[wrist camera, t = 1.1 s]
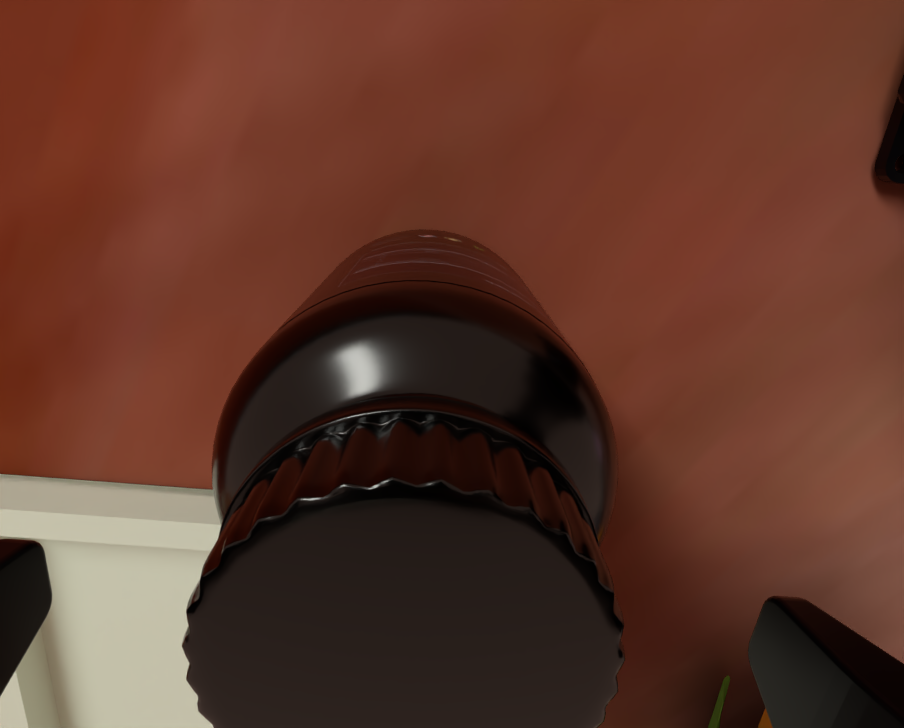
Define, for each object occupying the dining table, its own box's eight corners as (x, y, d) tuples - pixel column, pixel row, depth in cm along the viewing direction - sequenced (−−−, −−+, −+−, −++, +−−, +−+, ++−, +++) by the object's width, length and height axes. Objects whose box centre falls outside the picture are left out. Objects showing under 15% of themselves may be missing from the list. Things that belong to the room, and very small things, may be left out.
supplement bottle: (508, 455, 19) (605, 909, 7) (301, 416, 18) (70, 847, 7) (566, 250, 16) (837, 463, 5) (332, 198, 16) (55, 310, 5)
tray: (471, 509, 19) (474, 543, 18) (431, 815, 25) (430, 863, 23) (-11, 473, 19) (-57, 504, 17) (58, 797, 24) (29, 845, 22)
